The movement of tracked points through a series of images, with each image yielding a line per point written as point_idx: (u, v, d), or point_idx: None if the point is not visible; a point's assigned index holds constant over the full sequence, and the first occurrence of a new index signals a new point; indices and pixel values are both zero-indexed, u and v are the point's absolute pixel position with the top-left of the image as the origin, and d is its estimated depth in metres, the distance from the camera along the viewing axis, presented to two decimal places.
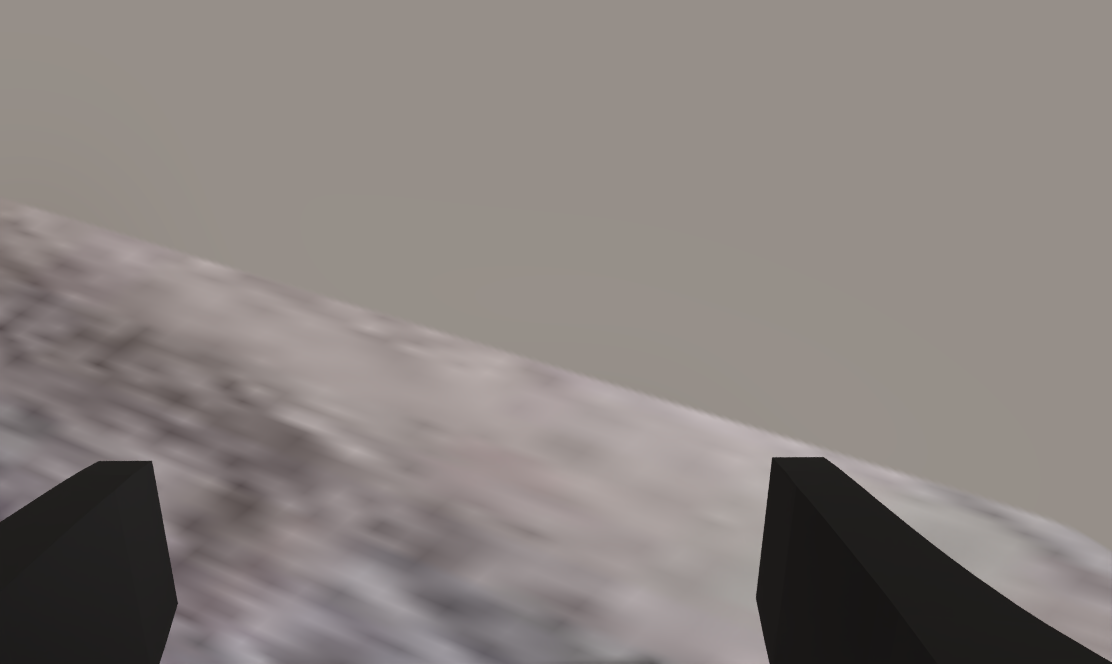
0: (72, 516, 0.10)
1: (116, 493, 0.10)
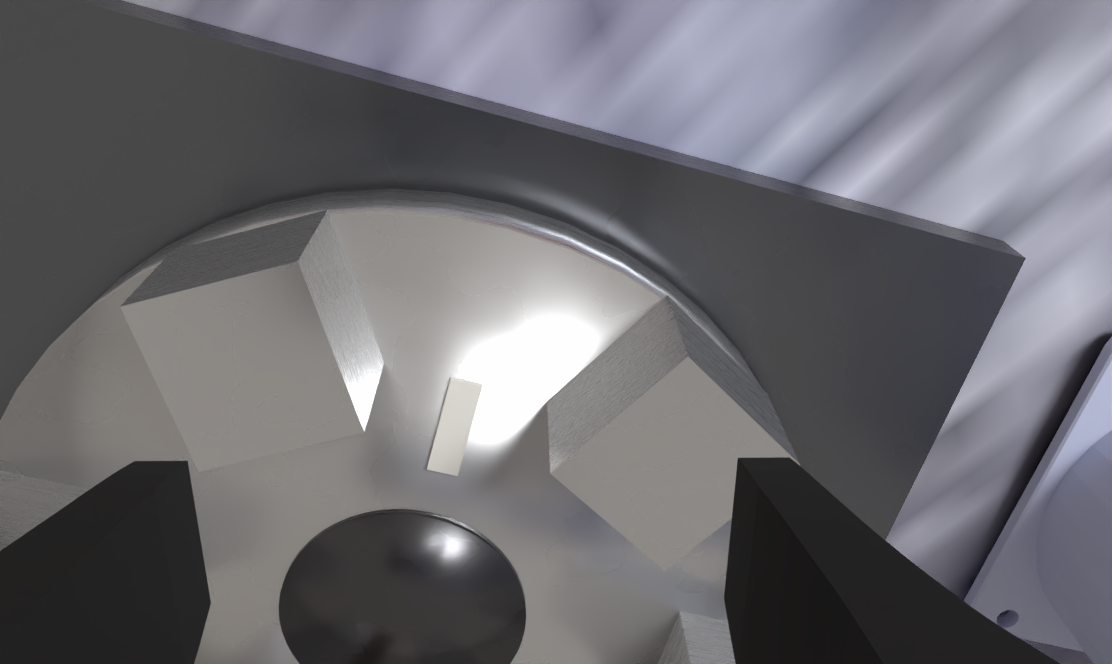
0: (113, 516, 0.10)
1: (154, 493, 0.10)
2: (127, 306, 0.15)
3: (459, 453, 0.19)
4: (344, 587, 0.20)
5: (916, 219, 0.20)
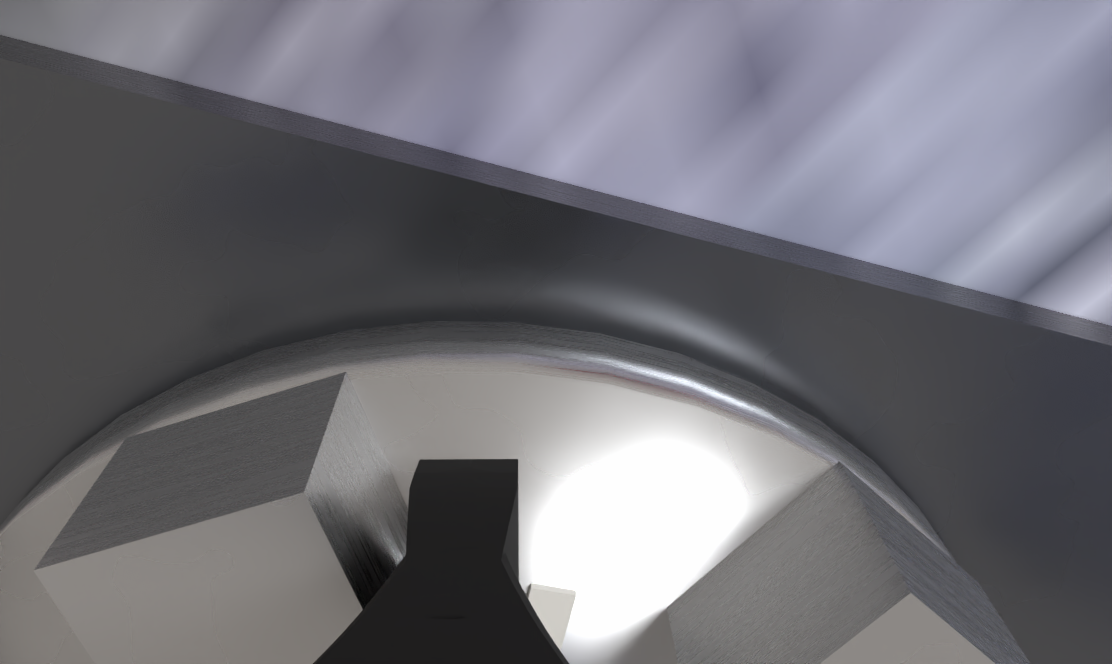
0: (499, 513, 0.10)
1: None
2: (45, 569, 0.10)
3: None
4: None
5: None
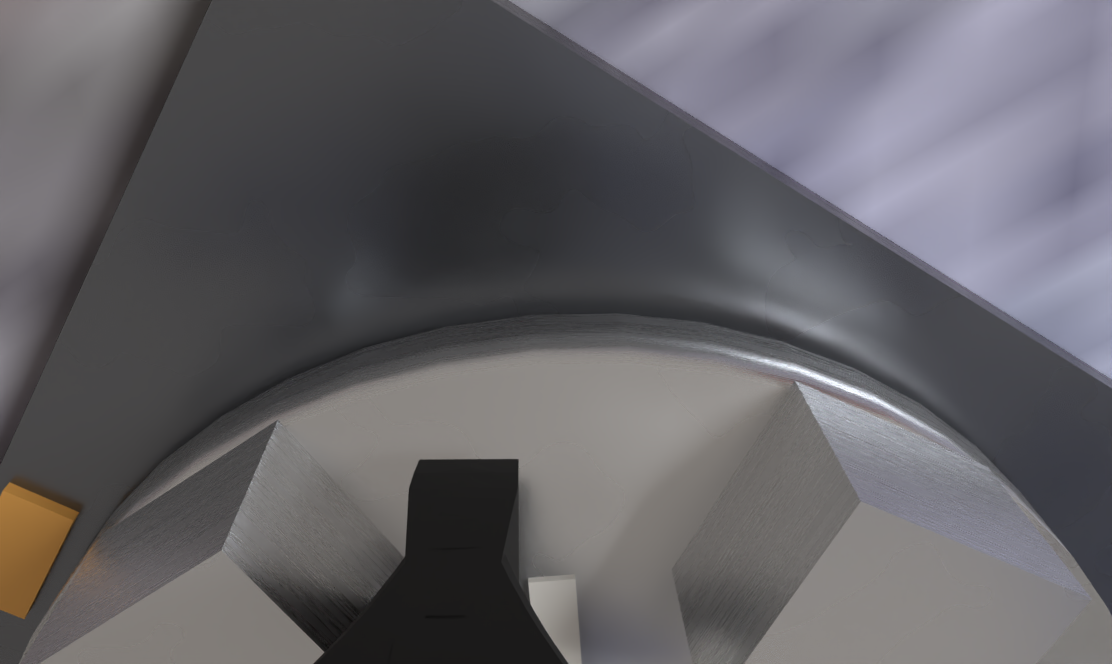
0: (499, 513, 0.10)
1: None
2: None
3: None
4: None
5: None
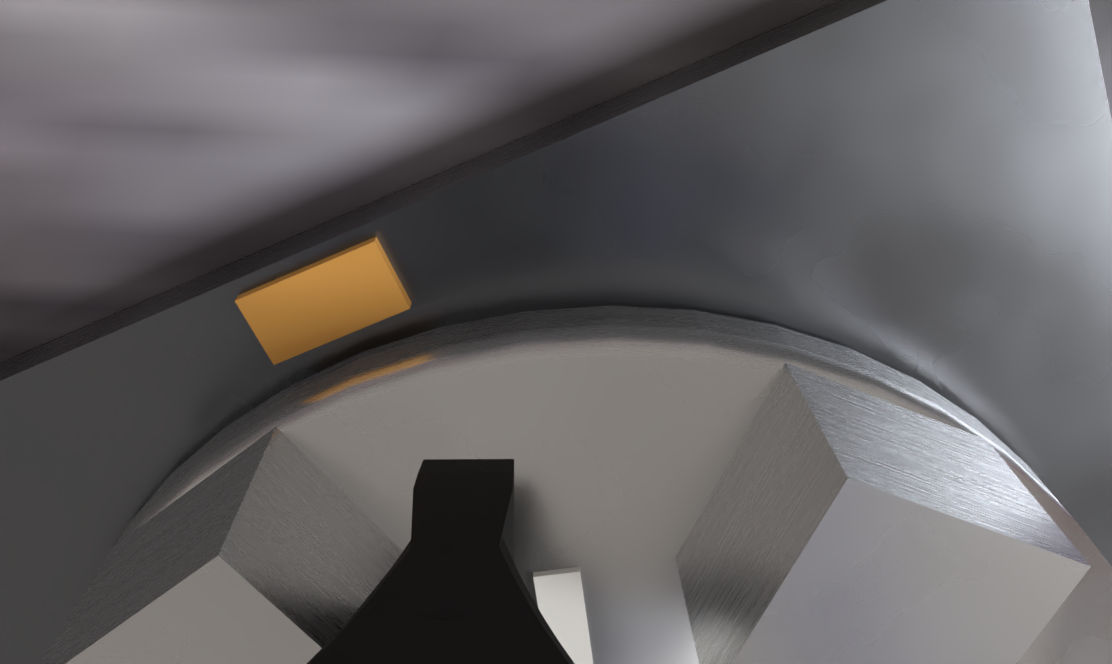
0: (494, 513, 0.10)
1: None
2: None
3: (587, 660, 0.14)
4: None
5: None
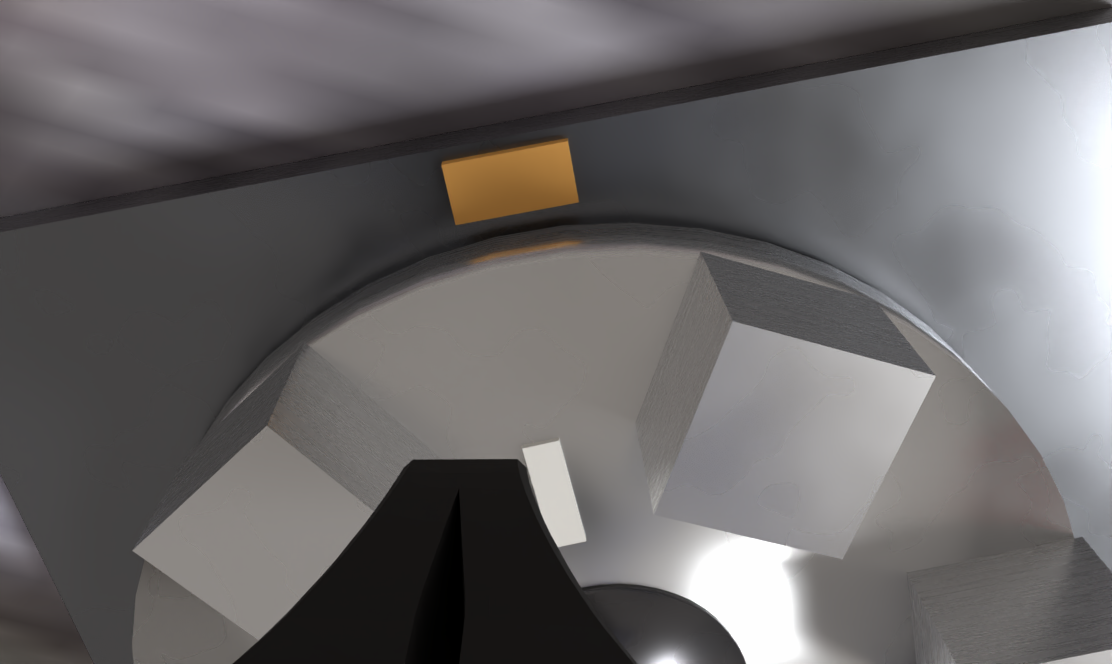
0: (437, 513, 0.10)
1: (457, 491, 0.10)
2: (139, 546, 0.14)
3: (575, 517, 0.17)
4: None
5: None
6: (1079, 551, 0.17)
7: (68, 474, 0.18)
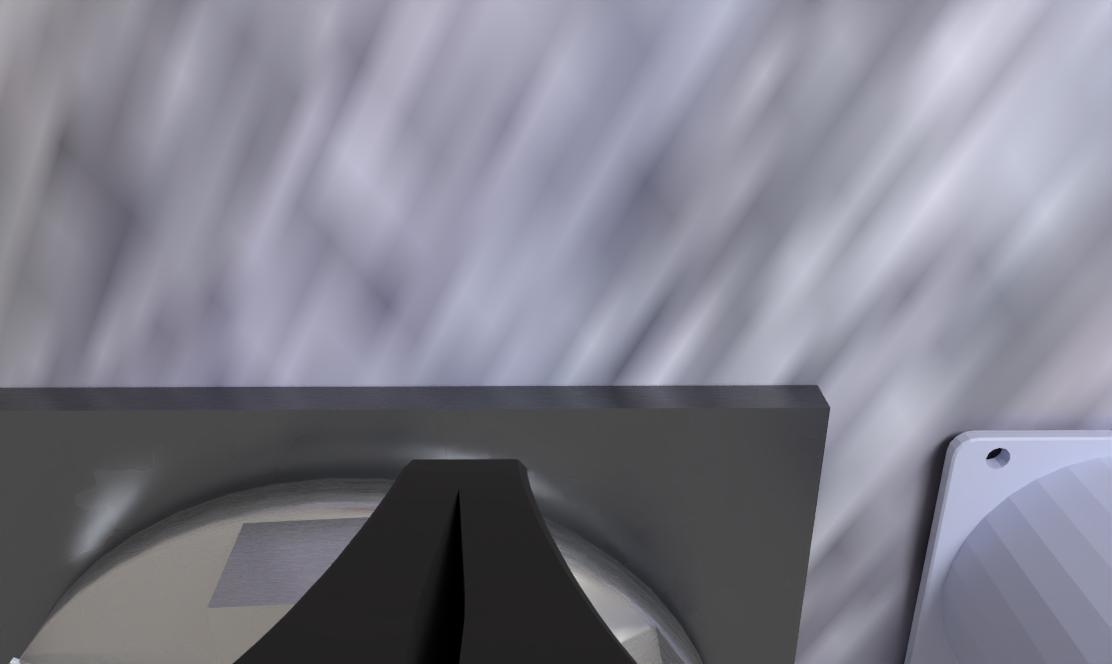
0: (437, 513, 0.10)
1: (457, 491, 0.10)
2: None
3: None
4: None
5: (726, 390, 0.22)
6: (241, 542, 0.19)
7: None
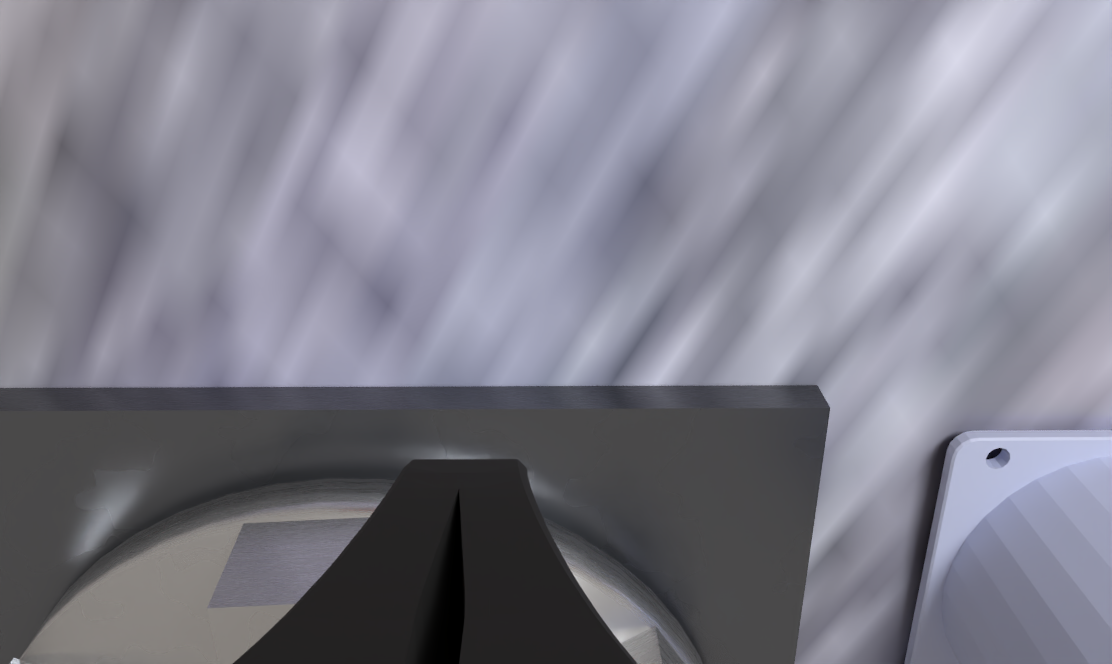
0: (437, 513, 0.10)
1: (457, 491, 0.10)
2: None
3: None
4: None
5: (726, 390, 0.22)
6: (241, 542, 0.19)
7: None
